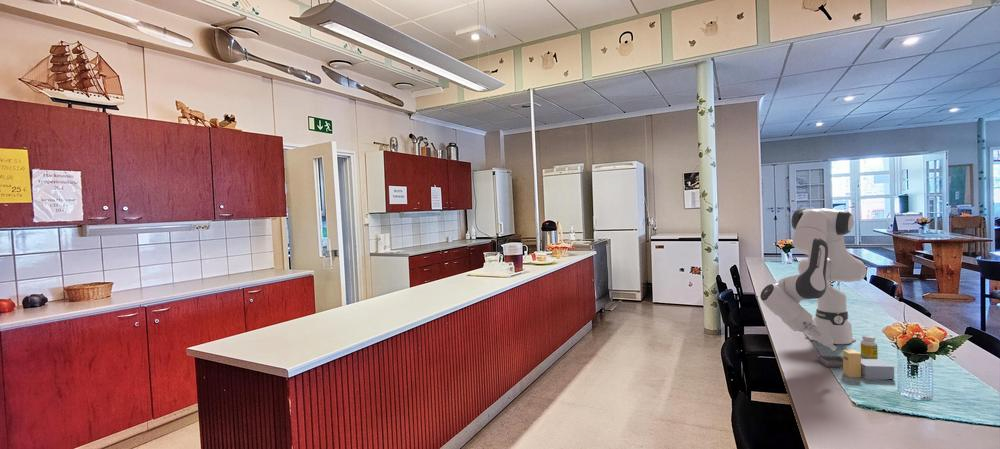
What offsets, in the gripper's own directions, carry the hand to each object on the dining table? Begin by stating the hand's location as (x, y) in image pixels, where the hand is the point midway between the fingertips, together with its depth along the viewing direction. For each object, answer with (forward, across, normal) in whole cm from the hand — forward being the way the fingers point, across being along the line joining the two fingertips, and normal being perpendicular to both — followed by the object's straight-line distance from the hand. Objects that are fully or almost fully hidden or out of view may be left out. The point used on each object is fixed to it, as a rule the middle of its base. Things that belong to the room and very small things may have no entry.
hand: (828, 345), depth 171 cm
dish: (+13, +12, +3) cm, 18 cm away
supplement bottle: (+24, +19, -8) cm, 32 cm away
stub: (+13, 0, +2) cm, 14 cm away
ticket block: (+18, 0, -3) cm, 19 cm away
